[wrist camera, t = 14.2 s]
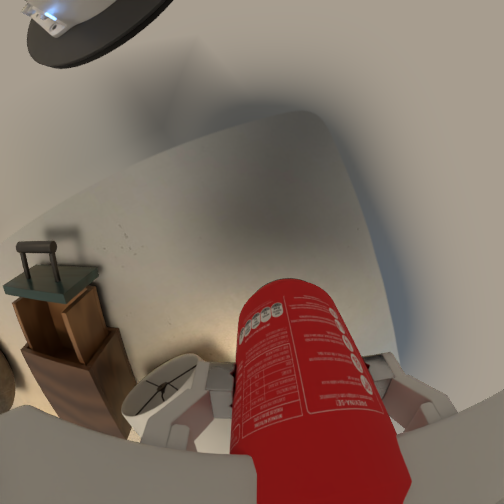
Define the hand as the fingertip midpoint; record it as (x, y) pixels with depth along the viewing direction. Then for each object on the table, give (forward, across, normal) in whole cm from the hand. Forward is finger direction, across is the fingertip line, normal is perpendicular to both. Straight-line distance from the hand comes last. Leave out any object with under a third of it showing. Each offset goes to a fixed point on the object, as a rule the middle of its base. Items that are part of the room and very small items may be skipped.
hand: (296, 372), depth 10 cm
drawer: (+20, +27, +8) cm, 35 cm away
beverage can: (+5, 0, 0) cm, 5 cm away
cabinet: (+20, +27, +21) cm, 40 cm away
